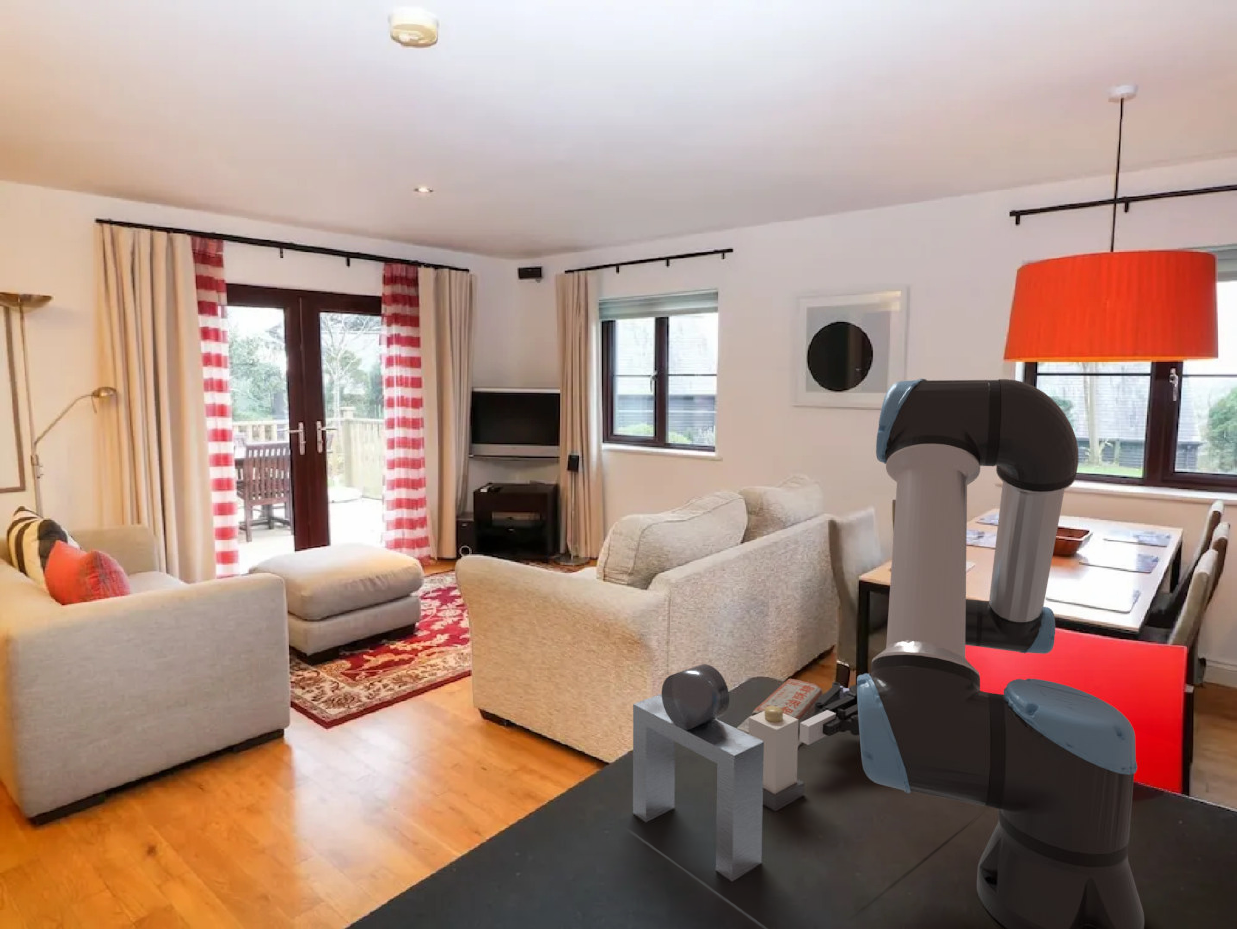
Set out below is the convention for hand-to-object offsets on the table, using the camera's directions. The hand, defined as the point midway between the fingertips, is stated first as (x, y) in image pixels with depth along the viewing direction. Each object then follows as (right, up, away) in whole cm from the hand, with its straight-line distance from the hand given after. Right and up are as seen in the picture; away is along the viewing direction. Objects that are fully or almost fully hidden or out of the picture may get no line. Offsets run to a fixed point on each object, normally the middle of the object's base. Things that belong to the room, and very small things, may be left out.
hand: (804, 733), depth 103 cm
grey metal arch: (-17, -8, -13) cm, 23 cm away
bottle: (-5, -7, -4) cm, 9 cm away
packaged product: (+2, -5, +18) cm, 19 cm away
